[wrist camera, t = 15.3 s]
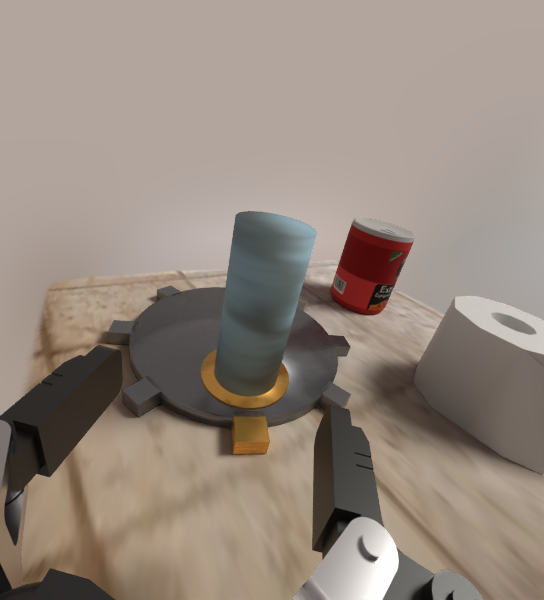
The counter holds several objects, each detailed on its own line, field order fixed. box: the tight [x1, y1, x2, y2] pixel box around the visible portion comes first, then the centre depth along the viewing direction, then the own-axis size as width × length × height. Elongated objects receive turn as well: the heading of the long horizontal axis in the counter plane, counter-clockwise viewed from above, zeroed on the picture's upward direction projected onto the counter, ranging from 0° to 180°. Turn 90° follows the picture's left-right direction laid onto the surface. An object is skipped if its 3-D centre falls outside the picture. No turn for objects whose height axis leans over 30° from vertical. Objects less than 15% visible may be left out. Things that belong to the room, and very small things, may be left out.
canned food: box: [331, 218, 415, 315], centre depth 41 cm, size 8×8×11 cm
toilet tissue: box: [413, 296, 544, 475], centre depth 26 cm, size 9×13×9 cm
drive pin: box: [214, 211, 317, 397], centre depth 21 cm, size 5×5×12 cm
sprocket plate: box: [108, 286, 351, 454], centre depth 29 cm, size 21×22×2 cm
